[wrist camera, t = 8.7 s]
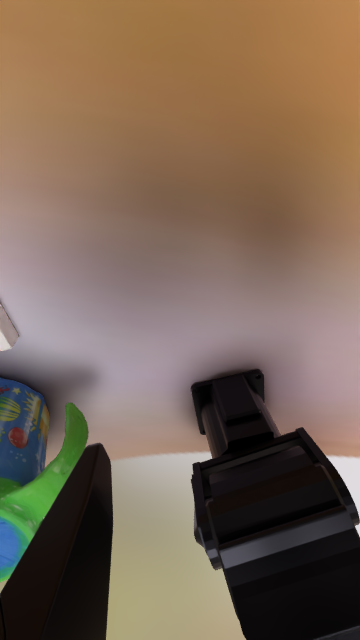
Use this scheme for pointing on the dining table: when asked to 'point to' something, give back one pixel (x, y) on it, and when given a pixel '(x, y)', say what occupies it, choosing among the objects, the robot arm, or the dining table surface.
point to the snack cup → (30, 466)
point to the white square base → (6, 331)
